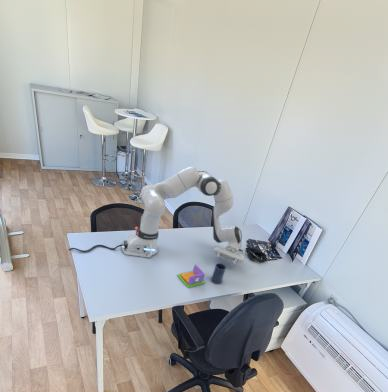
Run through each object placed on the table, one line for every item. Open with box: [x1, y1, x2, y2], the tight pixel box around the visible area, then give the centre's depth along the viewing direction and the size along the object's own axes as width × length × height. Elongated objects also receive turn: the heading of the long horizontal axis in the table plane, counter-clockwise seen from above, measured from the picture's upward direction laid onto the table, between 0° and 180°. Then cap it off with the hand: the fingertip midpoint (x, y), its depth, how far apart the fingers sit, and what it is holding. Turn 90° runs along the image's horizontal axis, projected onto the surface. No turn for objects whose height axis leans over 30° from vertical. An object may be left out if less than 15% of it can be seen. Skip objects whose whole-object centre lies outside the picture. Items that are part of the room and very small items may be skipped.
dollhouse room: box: [177, 264, 205, 288], centre depth 168 cm, size 12×12×7 cm
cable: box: [245, 246, 268, 263], centre depth 207 cm, size 17×14×4 cm
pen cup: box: [210, 262, 227, 284], centre depth 172 cm, size 6×6×10 cm
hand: (225, 260), depth 179 cm, fingers open, 8 cm apart
